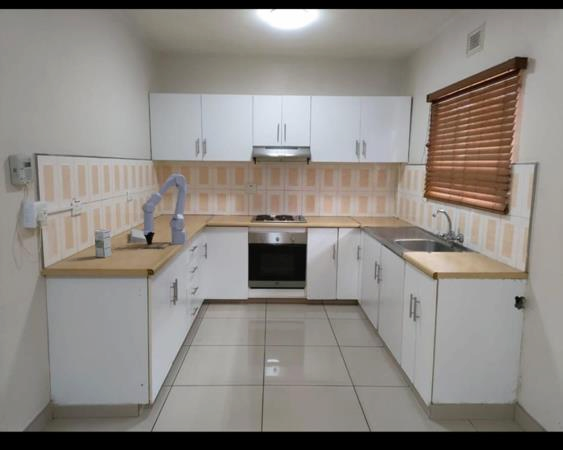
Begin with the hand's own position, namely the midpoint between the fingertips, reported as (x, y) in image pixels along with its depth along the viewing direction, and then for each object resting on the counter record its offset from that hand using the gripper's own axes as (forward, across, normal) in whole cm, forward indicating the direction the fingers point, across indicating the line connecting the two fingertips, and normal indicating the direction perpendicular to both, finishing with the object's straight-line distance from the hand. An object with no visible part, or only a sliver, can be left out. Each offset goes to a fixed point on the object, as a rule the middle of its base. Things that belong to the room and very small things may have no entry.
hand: (149, 244), depth 241 cm
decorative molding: (+2, -30, -16) cm, 34 cm away
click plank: (+1, 0, +1) cm, 2 cm away
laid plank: (+1, 0, +8) cm, 8 cm away
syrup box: (+2, +28, -16) cm, 32 cm away
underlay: (+1, 0, +4) cm, 5 cm away
